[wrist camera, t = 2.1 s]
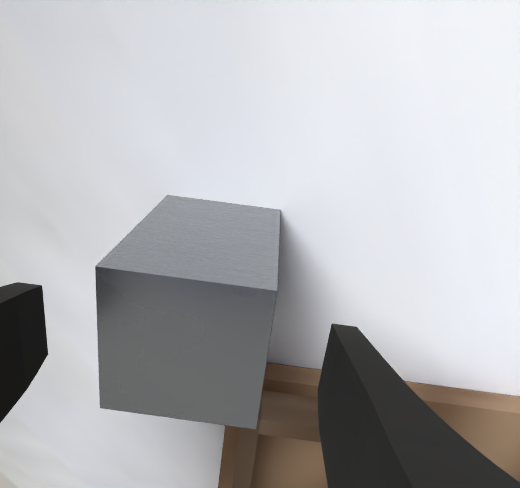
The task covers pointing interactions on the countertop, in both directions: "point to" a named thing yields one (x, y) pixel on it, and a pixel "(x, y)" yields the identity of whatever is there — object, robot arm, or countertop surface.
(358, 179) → the countertop surface
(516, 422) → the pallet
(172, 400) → the block
